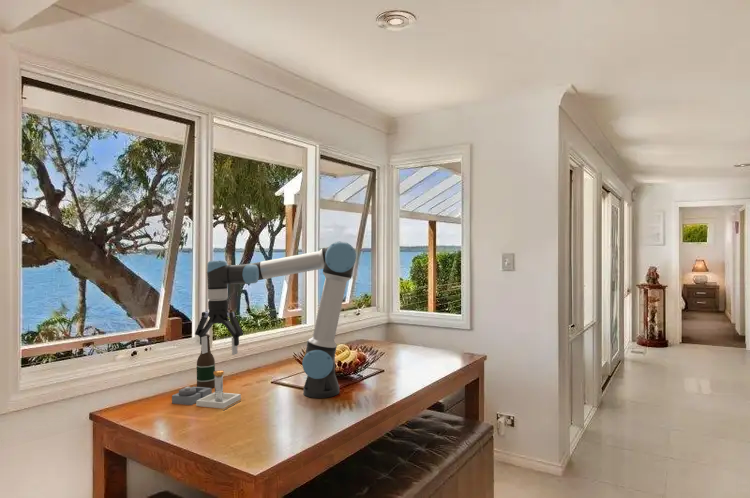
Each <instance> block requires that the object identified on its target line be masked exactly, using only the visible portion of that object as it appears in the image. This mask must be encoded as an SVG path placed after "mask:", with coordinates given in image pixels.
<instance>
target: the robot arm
mask: <svg viewBox="0 0 750 498" xmlns="http://www.w3.org/2000/svg"><path fill="white" fill-rule="evenodd" d="M356 259H357V254H356V251H355V248H354V247H353V246H352V244H351V243H348V242H346V241H335V242H333V243H332V244H330V245H329V246H326V247H322V248H321V249H320V250H317V251H313V252H312V251H311V252H307V253H301V254H295V255H291V256H290V255H289V256H286V257H285V256H284V257H280V258H273V259H269V260H262V261H257V262H253V263H252V262H251V263H246V264H233V265H231V264H228V262H227V260H225V259H224V260H221V259H220V260H219V259H218V260H209V261H208V262H207V269H206V277H207V278H206V279H207V299H208V301H207V307H208V308H207V309H208V310H207V311H203V312H201V317H200V319H199V323H198V325H197V326H196V327H197V328H196V330H195V332H194V335H195V336H197V337H199V344H200V345H201V346H202V354H204V353H207V352H208V349H207V336H205V335H206V334H208V333H209V330H210V329H211V328H212V326H213V325H214V324H222V325H223V326H224V327H225V328H226V329H227V331H228V332H229V333H230V334H231V336H232V337H231V355H232V356H235V355H237V354H239V353H238V346H239V345H240V337H241V336H244V331H243V330H242V327H241V325H240V323H239V321H238V319H237V316H236V315H237V314H236V312H235V311H230V312H229V300H228V299H229V293H228V291H229V290H228V288H229V287H228V285H235V284H236V285H238V284H239V285H243V284H244V285H245V284H247V285H251V284H256V283H258V282H259V281H263V280H267V279H273V278H277V277H284V276H289V275H294V274H301V273H306V272H312V271H317V270H322V274H323V275H324V276H323V277H324V278H325V279H324V284H323V287H322V292H321V296H320V302H319V305H318V311H317V315H316V320H315V325H314V329H313V333H312V334H313V335H312V337H310V338H308V339H307V342H306V347H305V352H304V356H303V358H302V362H301V363H302V369H303V371H304V373H305V374H306V378H305V382H304V385H303V393H302V394H303V396H305V397H308V398H313V399H325V398H332V397H336V396H337V395H339V393H340V385H339V382H338V378H337V376H336V352H337V349H338V348H337V347H338V346H337V344H336V341H335V337H336V334H337V328H338V324H339V319H340V315H341V310H342V304H343V300H344V295H345V291H346V286H347V282H348V281H350V280H352V276H353V273H354V272H353V271H354V267H355V264H356V262H357V261H356ZM208 317H209V319H208Z"/></svg>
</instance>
